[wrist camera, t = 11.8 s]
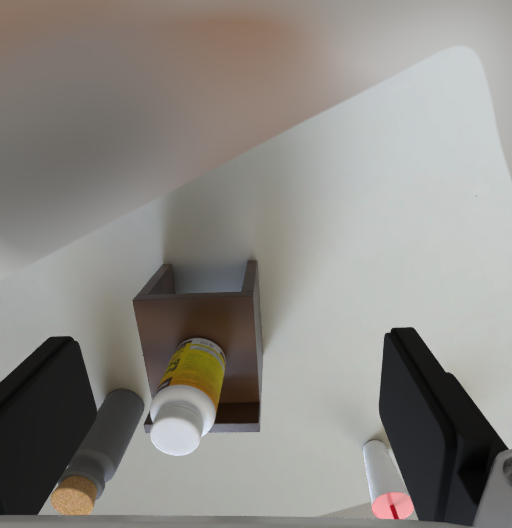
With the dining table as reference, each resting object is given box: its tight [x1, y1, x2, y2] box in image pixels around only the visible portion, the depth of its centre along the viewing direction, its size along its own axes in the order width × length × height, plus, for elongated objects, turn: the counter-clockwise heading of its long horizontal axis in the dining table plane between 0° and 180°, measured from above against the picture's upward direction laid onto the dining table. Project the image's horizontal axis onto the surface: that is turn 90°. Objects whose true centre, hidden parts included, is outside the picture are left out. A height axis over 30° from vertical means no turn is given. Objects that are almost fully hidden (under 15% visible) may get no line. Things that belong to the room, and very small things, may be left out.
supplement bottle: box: [150, 338, 226, 456], centre depth 32 cm, size 6×6×10 cm
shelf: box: [133, 261, 263, 433], centre depth 40 cm, size 14×12×13 cm
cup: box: [363, 440, 414, 519], centre depth 48 cm, size 5×5×12 cm
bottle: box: [51, 389, 144, 515], centre depth 46 cm, size 6×6×15 cm
